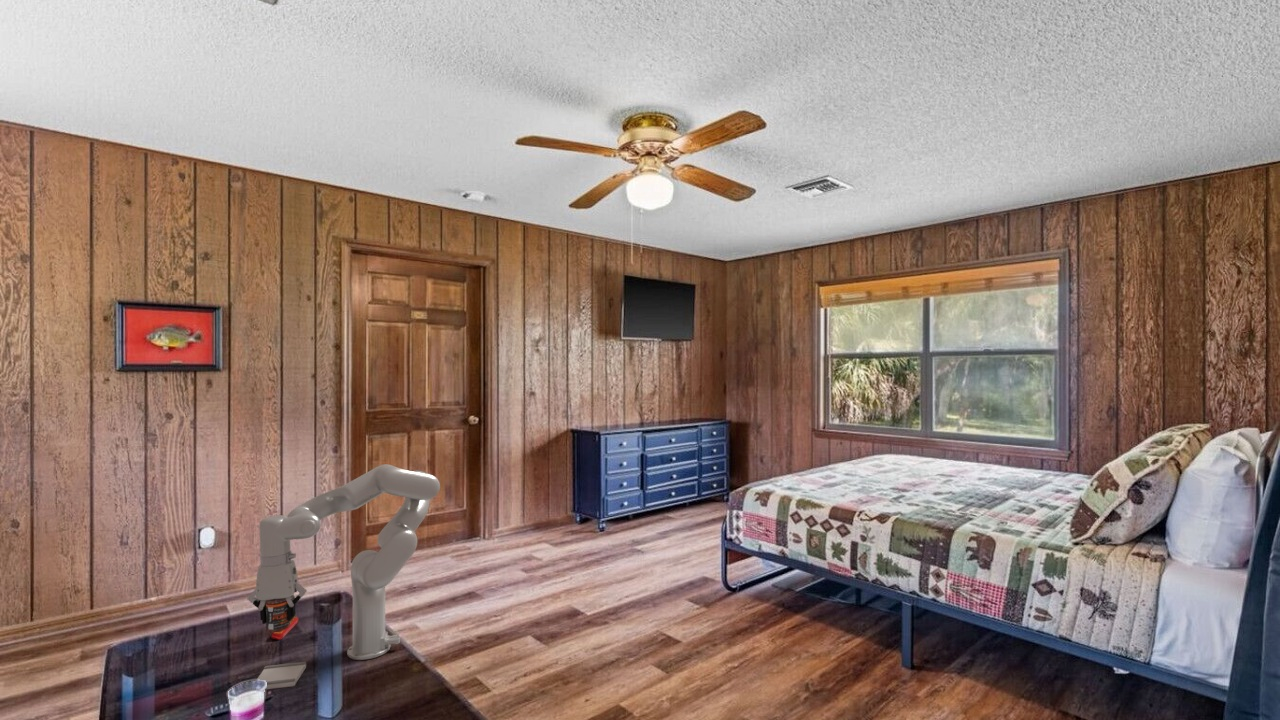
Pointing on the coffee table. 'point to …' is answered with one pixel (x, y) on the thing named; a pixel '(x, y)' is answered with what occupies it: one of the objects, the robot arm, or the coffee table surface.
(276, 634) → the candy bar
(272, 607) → the supplement bottle
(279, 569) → the robot arm
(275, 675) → the mat
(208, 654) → the coffee table surface
